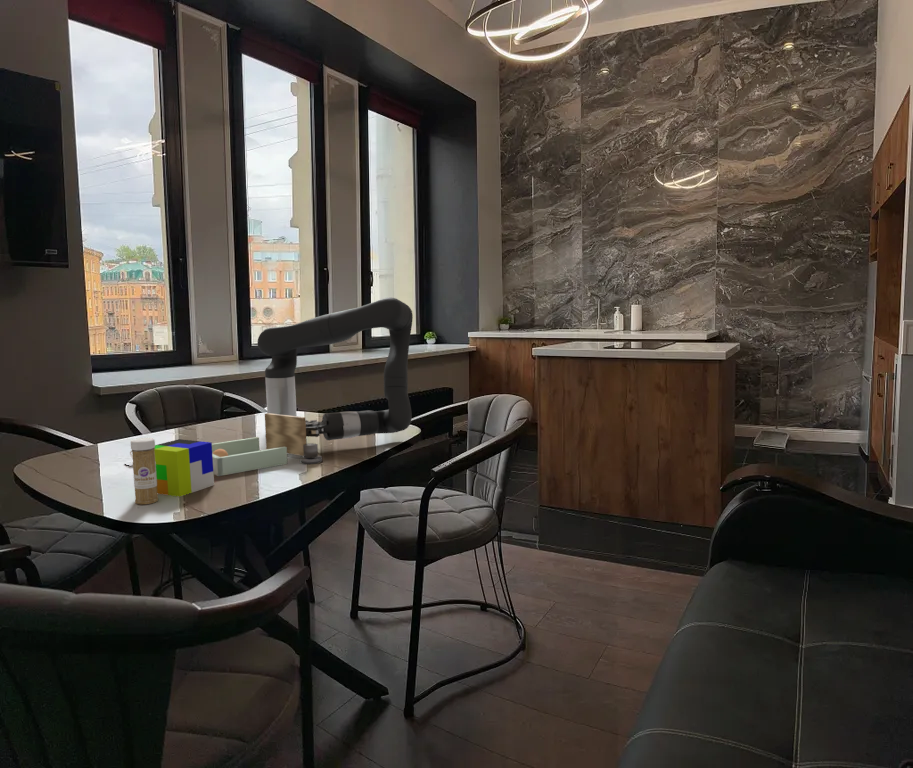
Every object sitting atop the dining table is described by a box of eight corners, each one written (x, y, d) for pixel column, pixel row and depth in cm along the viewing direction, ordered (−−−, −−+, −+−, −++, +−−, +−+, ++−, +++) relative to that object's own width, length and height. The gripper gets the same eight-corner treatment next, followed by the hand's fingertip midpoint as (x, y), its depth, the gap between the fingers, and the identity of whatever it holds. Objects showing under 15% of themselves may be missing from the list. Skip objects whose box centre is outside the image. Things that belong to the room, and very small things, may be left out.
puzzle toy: (214, 485, 154) (211, 442, 152) (179, 497, 145) (176, 451, 143) (182, 480, 158) (179, 439, 157) (146, 492, 149) (143, 448, 148)
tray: (192, 463, 175) (191, 446, 174) (257, 452, 186) (257, 436, 186) (218, 476, 161) (216, 458, 161) (287, 463, 173) (286, 447, 172)
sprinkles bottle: (137, 506, 138) (132, 442, 136) (133, 501, 142) (128, 438, 140) (161, 502, 141) (156, 439, 139) (156, 497, 144) (152, 436, 143)
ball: (223, 445, 175) (223, 459, 176) (208, 448, 172) (209, 463, 173) (230, 450, 172) (231, 464, 174) (216, 454, 170) (216, 468, 171)
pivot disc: (298, 460, 176) (297, 456, 176) (319, 458, 178) (319, 454, 178) (302, 465, 171) (302, 461, 171) (324, 462, 173) (324, 458, 173)
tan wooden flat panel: (320, 455, 175) (319, 417, 174) (310, 458, 172) (309, 419, 171) (273, 448, 184) (271, 412, 183) (263, 450, 181) (261, 414, 180)
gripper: (334, 409, 194) (273, 414, 187) (347, 415, 182) (283, 421, 175) (335, 434, 195) (274, 441, 188) (348, 442, 183) (284, 450, 176)
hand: (279, 431), depth 181 cm, fingers closed
